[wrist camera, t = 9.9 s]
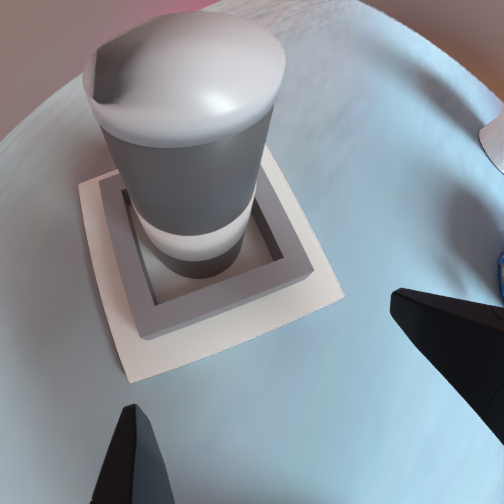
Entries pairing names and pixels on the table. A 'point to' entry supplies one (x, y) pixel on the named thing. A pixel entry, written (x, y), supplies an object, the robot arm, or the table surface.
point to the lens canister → (188, 128)
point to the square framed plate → (202, 290)
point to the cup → (494, 140)
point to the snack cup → (502, 273)
